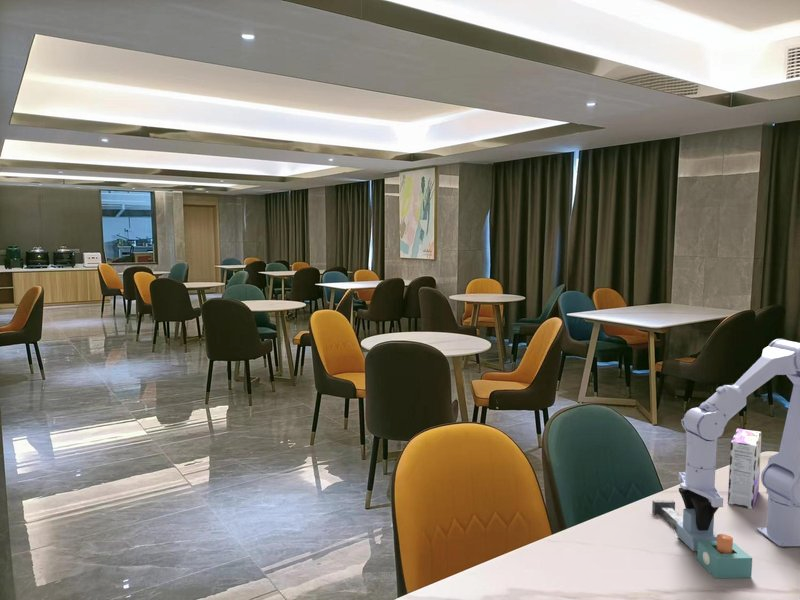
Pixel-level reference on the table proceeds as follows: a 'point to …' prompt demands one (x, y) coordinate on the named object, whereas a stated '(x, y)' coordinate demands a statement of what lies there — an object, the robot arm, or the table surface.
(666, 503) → the rail
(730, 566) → the teal button housing
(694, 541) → the carriage
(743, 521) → the table surface
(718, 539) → the plunger
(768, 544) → the table surface
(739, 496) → the candy box
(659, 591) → the table surface
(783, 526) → the robot arm
